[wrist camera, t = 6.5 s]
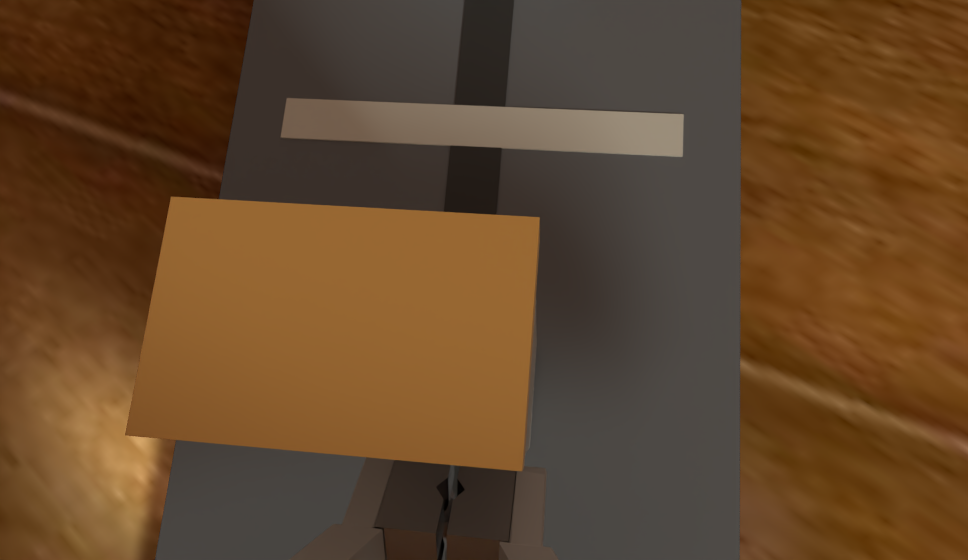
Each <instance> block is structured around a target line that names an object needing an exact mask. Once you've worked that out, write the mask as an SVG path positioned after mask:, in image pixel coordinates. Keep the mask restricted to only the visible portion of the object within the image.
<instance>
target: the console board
mask: <svg viewBox="0 0 968 560" xmlns="http://www.w3.org/2000/svg"><path fill="white" fill-rule="evenodd" d="M740 173H741V0H254V3H253V8H252V14H251V20H250V25H249V31H248V37H247V42H246V48H245V54H244V59H243V65H242V70H241V76H240V82H239V87H238V93H237V99H236V104H235V110H234V116H233V121H232V127H231V133H230V138H229V144H228V150H227V155H226V161H225V167H224V172H223V178H222V184H221V189H220V195H219V199H223V200H241V201H259V202H276V203H294V204H312V205H330V206H348V207H366V208H384V209H402V210H420V211H437V212H455V213H473V214H491V215H509V216H527V217H540V243H539V258H538V272H537V287H536V336H537V347H536V362H535V376H534V391H533V406H532V421H531V436H530V448H529V449H528V451H527V452H526V454H525V462H524V466H528V467H539V468H545V469H546V472H547V474H546V494H545V514H544V533H543V546H544V547H551V548H552V549H553V551H554V552H555V554H556V556H557V557H558V559H559V560H739V550H740ZM365 459H366V457H358V456H347V455H336V454H325V453H314V452H303V451H292V450H281V449H270V448H259V447H248V446H237V445H226V444H215V443H204V442H193V441H182V440H176V444H175V450H174V455H173V461H172V467H171V472H170V478H169V484H168V489H167V495H166V501H165V506H164V512H163V518H162V523H161V529H160V535H159V540H158V546H157V552H156V557H155V560H289V559H290V558H292V557H293V556H294V555H295V554H297V553H298V552H299V551H300V550H302V549H303V548H304V547H305V546H307V545H308V544H309V543H310V542H312V541H313V540H314V539H315V538H317V537H318V536H319V535H320V534H322V533H323V532H324V531H325V530H327V529H328V528H329V527H330V526H332V525H333V524H341V525H342V523H343V520H344V517H345V514H346V511H347V509H348V506H349V503H350V500H351V498H352V495H353V492H354V489H355V487H356V484H357V481H358V478H359V475H360V473H361V470H362V467H363V464H364V462H365ZM459 468H460V466H456V465H454V474H455V475H454V481H453V486H452V490H453V491H454V493H455V498H456V497H457V477H458V473H459ZM445 560H447V550H445Z"/></svg>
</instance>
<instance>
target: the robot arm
mask: <svg viewBox="0 0 968 560" xmlns="http://www.w3.org/2000/svg"><path fill="white" fill-rule="evenodd" d="M546 474H547V472H546V469H545V468H539V467H528V466H524V468H523V471H511V470H500V469H489V468H478V467H467V466H460V468H459V473H458V477H457V497H456V498H455V493H454V491H453V490H452V486H453V481H454V475H455V474H454V465H445V464H435V463H424V462H413V461H402V460H391V459H380V458H369V457H366V459H365V462H364V464H363V467H362V470H361V473H360V475H359V478H358V481H357V484H356V487H355V489H354V492H353V495H352V498H351V500H350V503H349V506H348V509H347V511H346V514H345V517H344V520H343V523H342V525H341V524H333V525H332V526H330V527H329V528H328V529H327V530H325V531H324V532H323V533H322V534H320V535H319V536H318V537H317V538H315V539H314V540H313V541H312V542H310V543H309V544H308V545H307V546H305V547H304V548H303V549H302V550H300V551H299V552H298V553H297V554H295V555H294V556H293V557H292V558H290V559H289V560H445V550H447V560H559V559H558V557H557V556H556V554H555V552H554V551H553V549H552V548H551V547H544V546H543V533H544V514H545V494H546Z"/></svg>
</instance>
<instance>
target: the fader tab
mask: <svg viewBox="0 0 968 560" xmlns="http://www.w3.org/2000/svg"><path fill="white" fill-rule="evenodd" d="M539 243H540V217H527V216H509V215H491V214H473V213H455V212H437V211H420V210H402V209H384V208H366V207H348V206H330V205H312V204H294V203H276V202H259V201H241V200H223V199H205V198H187V197H171V200H170V205H169V210H168V215H167V220H166V225H165V231H164V236H163V241H162V246H161V251H160V257H159V262H158V267H157V272H156V277H155V283H154V288H153V293H152V298H151V303H150V308H149V314H148V319H147V324H146V329H145V334H144V340H143V345H142V350H141V355H140V360H139V366H138V371H137V376H136V381H135V386H134V391H133V397H132V402H131V407H130V412H129V417H128V423H127V428H126V433H125V435H127V436H138V437H149V438H160V439H171V440H182V441H193V442H204V443H215V444H226V445H237V446H248V447H259V448H270V449H281V450H292V451H303V452H314V453H325V454H336V455H347V456H358V457H369V458H380V459H391V460H402V461H413V462H424V463H435V464H445V465H456V466H467V467H478V468H489V469H500V470H511V471H523V468H524V462H525V454H526V452H527V451H528V449H529V448H530V436H531V421H532V406H533V391H534V376H535V362H536V347H537V336H536V287H537V272H538V258H539Z"/></svg>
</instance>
